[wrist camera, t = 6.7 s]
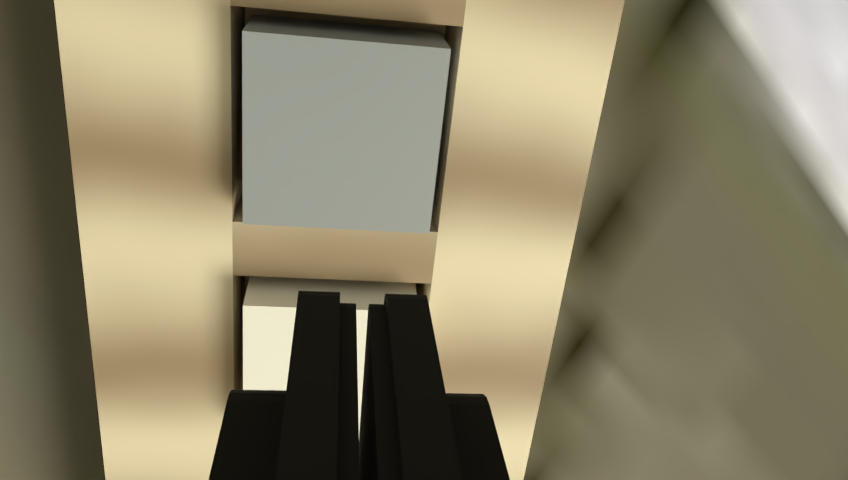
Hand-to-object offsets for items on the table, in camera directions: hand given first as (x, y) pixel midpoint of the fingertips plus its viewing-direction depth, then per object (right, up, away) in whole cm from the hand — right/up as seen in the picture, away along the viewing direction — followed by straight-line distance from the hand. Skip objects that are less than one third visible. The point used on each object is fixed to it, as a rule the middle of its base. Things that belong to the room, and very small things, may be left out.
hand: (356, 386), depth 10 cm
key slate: (-1, +6, +11) cm, 12 cm away
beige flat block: (-2, 0, +16) cm, 17 cm away
